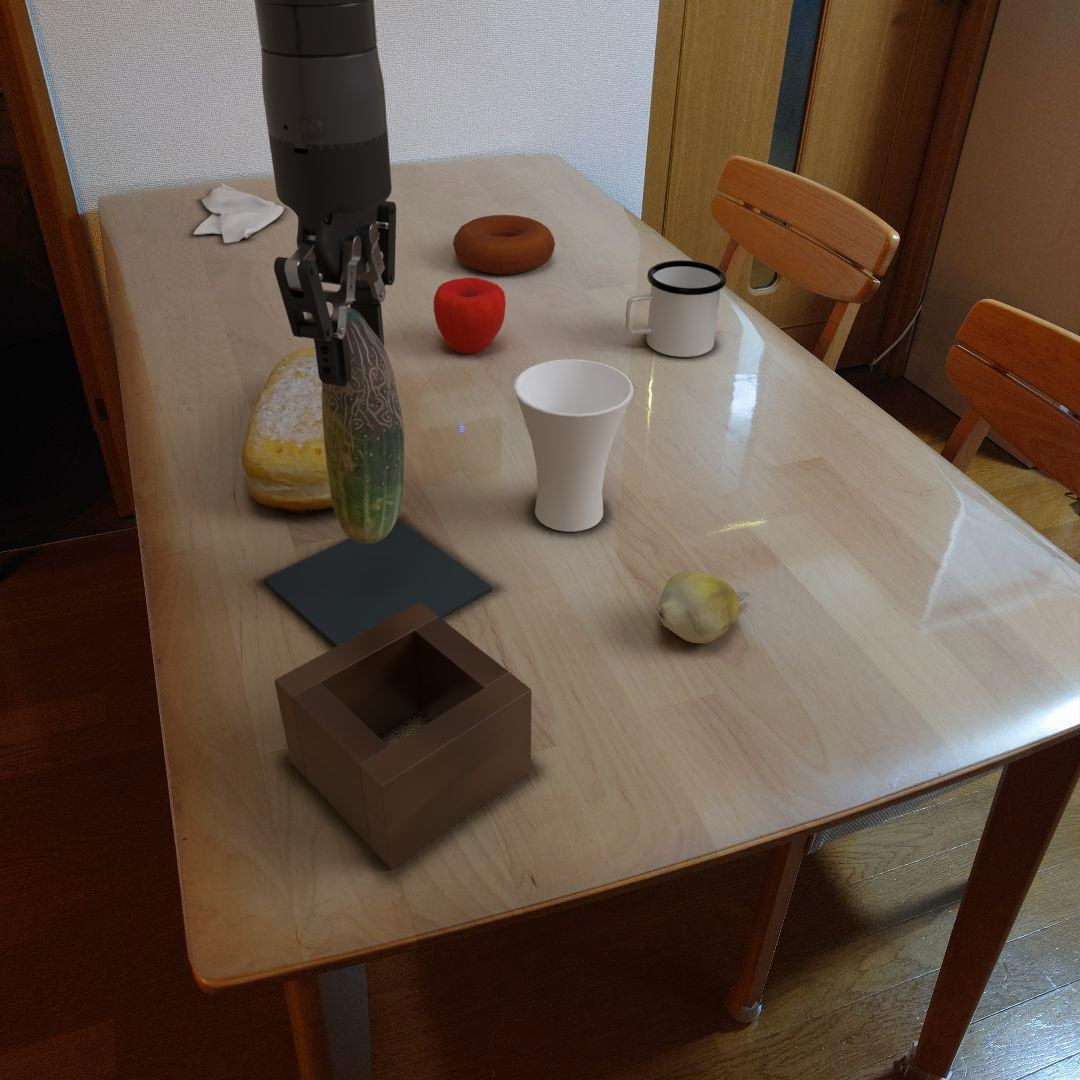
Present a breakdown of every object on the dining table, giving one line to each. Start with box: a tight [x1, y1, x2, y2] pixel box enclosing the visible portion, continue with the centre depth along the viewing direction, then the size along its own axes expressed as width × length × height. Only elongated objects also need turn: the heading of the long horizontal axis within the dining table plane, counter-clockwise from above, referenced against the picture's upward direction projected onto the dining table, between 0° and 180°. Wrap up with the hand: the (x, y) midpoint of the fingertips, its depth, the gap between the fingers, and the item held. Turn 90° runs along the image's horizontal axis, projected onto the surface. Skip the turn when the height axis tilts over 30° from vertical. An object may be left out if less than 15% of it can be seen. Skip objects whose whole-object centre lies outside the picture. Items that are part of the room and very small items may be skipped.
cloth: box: [193, 183, 285, 244], centre depth 162 cm, size 26×14×2 cm, turn 10°
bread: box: [241, 346, 333, 514], centre depth 102 cm, size 13×26×8 cm, turn 4°
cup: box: [513, 358, 634, 533], centre depth 92 cm, size 10×10×14 cm
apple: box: [433, 277, 507, 355], centre depth 122 cm, size 9×9×8 cm
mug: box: [625, 259, 727, 358], centre depth 123 cm, size 12×10×9 cm
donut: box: [452, 214, 556, 275], centre depth 147 cm, size 15×15×5 cm
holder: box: [273, 602, 532, 870], centre depth 68 cm, size 12×12×8 cm
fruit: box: [655, 571, 751, 645], centre depth 82 cm, size 6×6×10 cm
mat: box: [263, 518, 493, 648], centre depth 87 cm, size 14×14×1 cm
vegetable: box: [322, 306, 405, 545], centre depth 78 cm, size 6×6×20 cm
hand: (353, 364), depth 74 cm, fingers closed on vegetable, 5 cm apart
